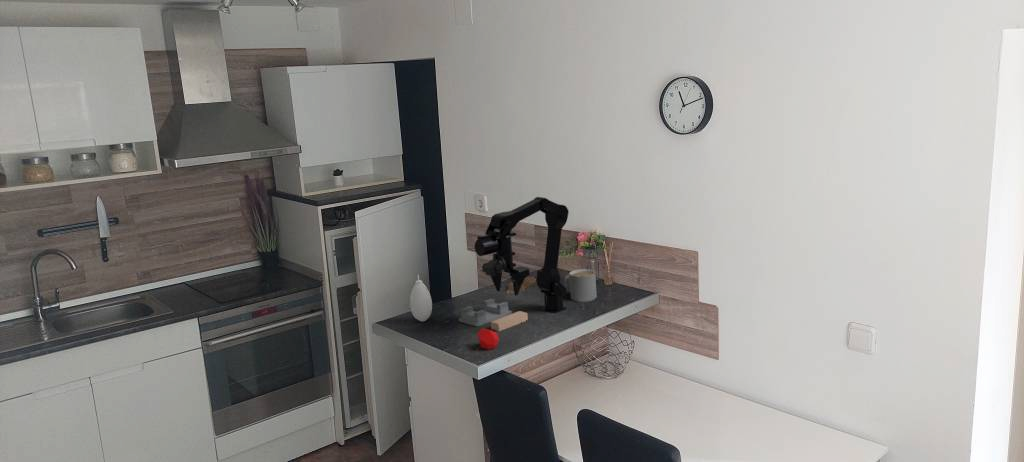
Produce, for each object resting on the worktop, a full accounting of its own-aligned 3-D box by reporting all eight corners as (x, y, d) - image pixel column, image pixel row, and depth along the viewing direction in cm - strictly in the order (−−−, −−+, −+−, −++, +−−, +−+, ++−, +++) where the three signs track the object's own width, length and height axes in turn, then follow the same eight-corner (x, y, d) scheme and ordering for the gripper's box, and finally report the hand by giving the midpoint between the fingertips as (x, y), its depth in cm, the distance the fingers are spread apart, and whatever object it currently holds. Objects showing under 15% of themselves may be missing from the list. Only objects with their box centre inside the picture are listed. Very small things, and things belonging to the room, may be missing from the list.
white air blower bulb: (427, 324, 266) (422, 277, 262) (408, 323, 269) (403, 276, 265) (436, 317, 273) (432, 271, 270) (418, 316, 276) (413, 270, 272)
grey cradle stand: (511, 313, 272) (510, 302, 271) (477, 326, 260) (475, 314, 259) (493, 308, 279) (492, 297, 278) (459, 321, 268) (458, 309, 267)
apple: (503, 332, 237) (489, 319, 242) (486, 341, 234) (472, 327, 239) (503, 348, 241) (490, 334, 246) (486, 357, 238) (473, 343, 243)
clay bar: (527, 321, 263) (527, 313, 263) (499, 332, 254) (498, 324, 254) (520, 318, 266) (519, 311, 266) (491, 329, 257) (490, 321, 257)
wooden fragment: (519, 295, 294) (519, 292, 294) (495, 293, 299) (495, 291, 299) (545, 277, 316) (545, 275, 316) (523, 276, 321) (522, 274, 321)
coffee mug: (601, 297, 283) (600, 272, 281) (582, 303, 277) (581, 277, 275) (578, 290, 294) (577, 266, 291) (559, 296, 288) (558, 271, 286)
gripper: (468, 251, 256) (472, 294, 259) (505, 258, 243) (508, 303, 246) (492, 245, 263) (496, 286, 267) (529, 251, 250) (532, 295, 253)
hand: (507, 293), depth 258 cm, fingers open, 9 cm apart
